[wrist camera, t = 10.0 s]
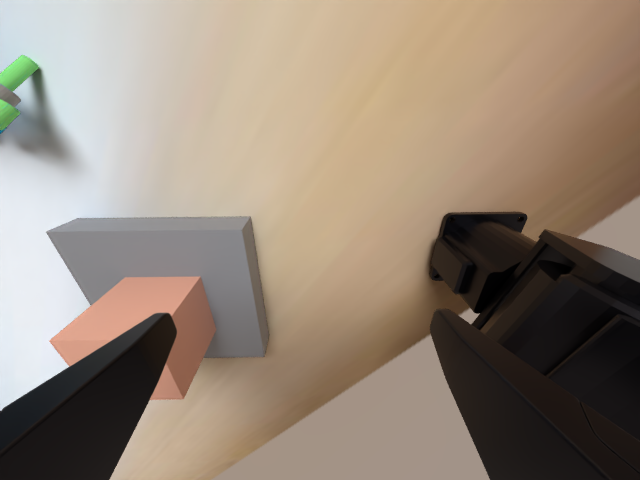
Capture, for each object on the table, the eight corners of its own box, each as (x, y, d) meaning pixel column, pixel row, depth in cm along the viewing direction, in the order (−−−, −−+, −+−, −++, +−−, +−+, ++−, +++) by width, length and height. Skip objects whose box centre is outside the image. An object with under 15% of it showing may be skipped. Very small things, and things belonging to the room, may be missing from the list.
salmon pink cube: (200, 276, 19) (154, 339, 13) (216, 329, 22) (183, 399, 16) (125, 277, 19) (49, 340, 13) (150, 330, 22) (96, 400, 16)
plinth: (250, 216, 19) (241, 229, 17) (269, 336, 26) (264, 356, 23) (77, 218, 19) (45, 231, 17) (140, 337, 26) (123, 358, 23)
